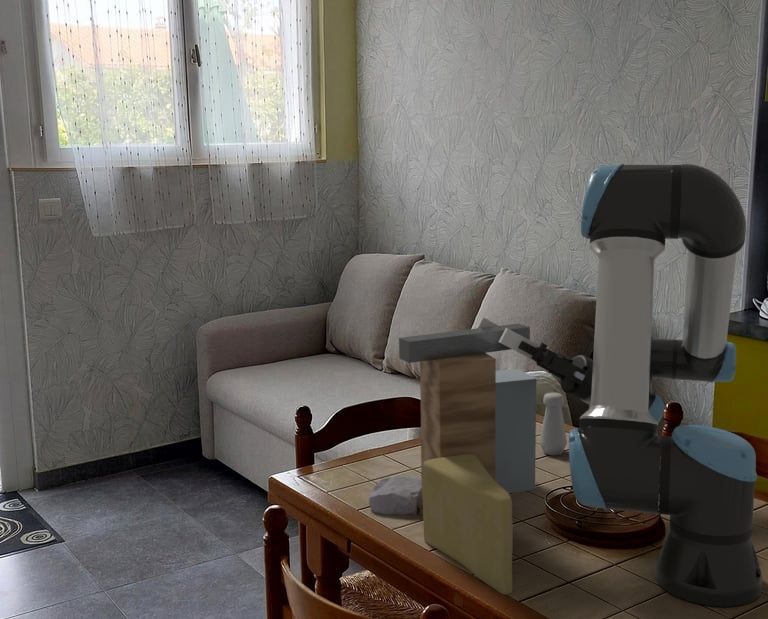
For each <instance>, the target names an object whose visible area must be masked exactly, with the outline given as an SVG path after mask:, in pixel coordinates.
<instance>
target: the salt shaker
mask: <svg viewBox="0 0 768 619" xmlns="http://www.w3.org/2000/svg"><path fill="white" fill-rule="evenodd" d="M542 402H543V404H544V406H545V412H544V416H543V417H544V418H543V422H542V426H541V432H540V437H539V442H538V443H539V445H540V447H541V450H542V452H543V454H544V455H548V456H553V457H554V456H560V455H562V454H563V453H564V451H565V449H566V446H567V445H568V440H567V439H568V438H567V434H566V433H567V432H566V427H565V422H564V421H565V420H564V415H563V410H562V406H563V405H564V403H565V397H564V395H563V394H562V393H559V392H547V393H544V395H543V400H542Z"/></svg>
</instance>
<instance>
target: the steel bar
mask: <svg viewBox="0 0 768 619" xmlns="http://www.w3.org/2000/svg"><path fill="white" fill-rule="evenodd" d="M506 328H508V329H510V330H512V331H513V332H515V333H517V334H519V335H521V336H523V337H525V338H526V339H528V340H530V341H531V327H530V326H528V325H525V324H522V323H511V324H503V325H498V326H494V327H485V328H477V329H476V328H470V329H469V328H468V329H461V330H453V331H445V332H437V333H428V334H427V333H426V334H420V335H418V334H417V335H412V336H402V337H399V338H398V347H399V348H398V352H399V353H398V354H399V357H398V358H399V360H402V361H404V362H406V363H408V364H410V363H417V362H418V363H420V361H428V360H435V359H443V358H450V357H458V356H465V355H473V354H480V353H486V354H488V353H493V352H501V351H510V350H512V349H511V348H509V347H507V346H505V345H503V344H501V343H500V342H499V340H500V338H501V336H502V334H503V333H504V331H505V329H506Z"/></svg>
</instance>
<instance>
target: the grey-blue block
mask: <svg viewBox="0 0 768 619" xmlns="http://www.w3.org/2000/svg"><path fill="white" fill-rule="evenodd" d="M536 433H537V378H536V377H534V376H532V375H531V374H528V373H527V372H525V371H523V370H521V369H519V368H515V369H514V368H513V369H504V370H503V369H502V370H496V409H495V481H496V482H497V483H498V484H499V485H500V486H501V487H502V488H503V489H505V490H506V491H507V492H508V493H509V494H515V493H522V492H529V491H535V490H536V446H537V444H536V440H537V436H536V435H537V434H536Z"/></svg>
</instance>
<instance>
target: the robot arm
mask: <svg viewBox="0 0 768 619" xmlns="http://www.w3.org/2000/svg"><path fill="white" fill-rule="evenodd" d="M581 210H582V211H581V214H582V215H581V222H580V232H581V233H580V234H581V236H582V237H583V238H585V239H587V240H589V249H590V250H591V251H592V253H594V254H595V256H597V259H598V263H597V264H598V265H597V279H596V280H597V281H596V300H595V301H596V302H595V320H594V321H595V322H594V338H593V339H594V340H593V356H592V357H593V359H592V358H591V357H589V356H586V355H584V354H579V355H576V356H574V357H572V358H569V357H567V356H565V355H562V354H561V353H556V352H554V351H552V350H550V349H548V348H547V346H548V345H547V344H545V343H544V342H541V343H540V345H539V344H537V343H536V342H534V341H532V340H531V339H530V340H528V339H526V338H525V337H523V336H521V335H519V334H517V333H515V332H513V331H512V330H510V329H508V328H506V329H505V331H504V333H503V334H502V336H501V338H500V340H499V342H500V343H501V344H503V345H505V346H507V347H509V348H511V349H510V350H513V351H515V352H517V353H518V354H521V355H523V356H524V357H526V358H528V359H531V360H532V361H534V362H535V363H536V365H537V366H539V367H540V368H542V369H544V370H546V371H547V372H548V373H549V374H550V375H553V376H554V377H556V378H558V379H560V380H559V381H560V382H559V383H560V388H561V390H562V391H563V392H564V393H565V394H567V395H569V396H571V397H573V398H575V399H577V400H580V401H582V402H583V403H585V404H587V405H588V410H586V411H585V412H584V413H583V414H582V415H581V416H580V417H579V427H574V428H571V429H570V430H569V431H568V432H569V433H568V456H569V457H568V458H569V459H568V460H569V471H570V481H571V485H572V491H573V495H574V498H575V499H576V501H577V502H578V503H580V505H583V506H585V507H589V508H591V507H592V508H597V509H603V510H604V511H608V510H614V511H625V512H634V513H635V512H636V513H644V514H654V515H666V516H669V520H668V521H669V522H668V523H669V525H668V527H669V528H668V531H667V533H666V536H665V537H664V541H663V544H662V546H661V550H660V552H659V554H658V555H657V557H656V559H655V560H656V561H655V568H654V569H655V570H654V576H655V577H654V578H655V581H656V582H657V584H658V586H659V587H661V588H662V589H663V590H665V592H667V593H669V594H670V595H672V596H674V597H676V598H679V599H681V600H684V601H687V602H691V603H694V604H698V605H703V606H709V607H711V606H712V607H735V606H736V607H738V606H743V605H746V604H750V603H751V602H755V601H756V600H757V599H758V598H759V597H760V595H761V594H762V588H763V574H762V569H761V567H760V563H759V560H758V556H757V554H756V550H755V546H754V542H753V522H754V505H755V504H754V502H755V483H756V481H757V479H758V473H757V471H756V468H757V464H756V463H757V462H756V460H757V459H756V457H757V456H756V451H755V448H754V447H753V445H752V444H751V443H750V442H748V441H747V440H746V439H745V438H743V437H742V436H740V435H738V434H735V433H733V432H730V431H728V430H725V429H722V428H718V427H713V426H709V425H708V426H707V425H703V424H689V425H688V424H682V425H678V426H676V427H675V428H674V429H673V431H672V432H671V435H669V436H668V435H661V434H660V435H659V433H658V432H659V431H658V430H659V422H660V421H661V419H662V417H663V416H664V415H663V414H664V412H665V403H664V401H663V399H662V397H661V396H660V395H658V394H657V393H656V392H653V391H652V387H653V386H652V384H653V379H657V380H658V379H659V380H661V379H664V380H676V381H677V380H679V381H689V382H690V381H692V382H704V383H705V382H707V383H714V382H719V383H729V382H731V381H733V380H734V378H735V375H736V366H737V347H736V344H735V343H733V342H729V341H728V332H729V324H730V315H731V305H732V295H733V287H734V278H735V270H736V261H737V260H736V259H737V254H738V253H739V252H740V251H741V250H742V249H743V247H744V246H745V243H746V233H747V222H746V221H747V220H746V216H745V213H744V208H743V207H742V204H741V202H740V199H739V197H738V196H737V195H736V193H735V191H734V190H733V189H732V188H731V187H730V185H729V184H728V183H727V182H726V180H724V179H723V178H722V177H721V176H720V175H718V174H717V173H716V172H713V171H712V170H710V169H708V168H706V167H704V166H701V165H698V164H692V163H682V164H625V163H620V164H617V165H601V166H598V167H596V168H595V169H594V170H592V172H591V174H590V176H589V178H588V182H587V185H586V188H585V193H584V198H583V203H582V208H581ZM669 239H670V240H672V239H673V240H678V239H681V240H682V244H683V247H684V248H685V250H687V257H686V258H687V259H686V260H687V262H686V277H685V295H684V310H683V311H684V313H683V330H682V331H683V332H682V339H669V338H655V336H654V332H653V331H652V328H653V326H652V325H653V304H654V302H653V301H654V283H655V282H654V280H655V277H654V276H655V261H656V259H657V258H658V257H659V256H660V255H661V254H662V253H664V252H665V250H666V240H669ZM494 326H499V324H496V323H495V322H493V321H491V320H489V319H487V318H486V317H483V316H481V317H480V319H479V322H478V323H477V325H476V328H475V329H477V328H485V327H494Z"/></svg>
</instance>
